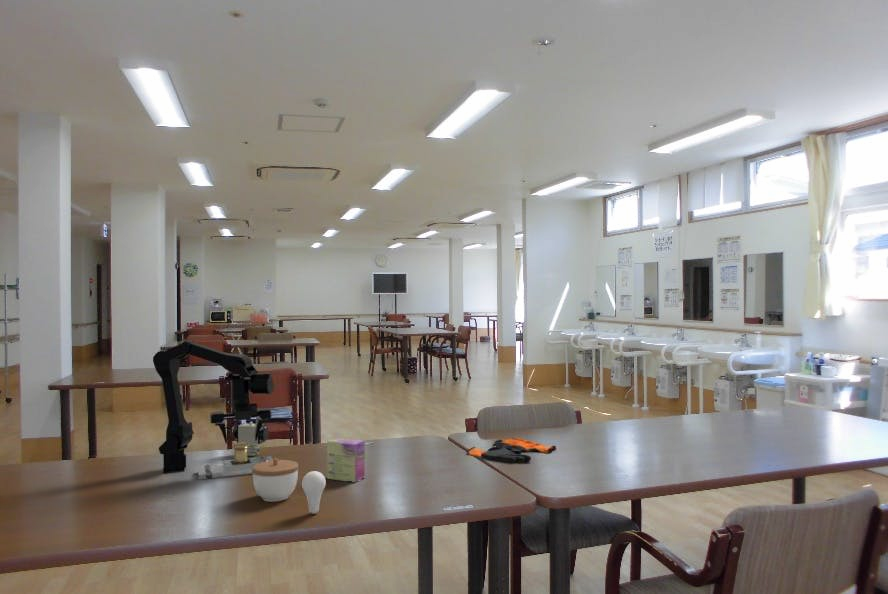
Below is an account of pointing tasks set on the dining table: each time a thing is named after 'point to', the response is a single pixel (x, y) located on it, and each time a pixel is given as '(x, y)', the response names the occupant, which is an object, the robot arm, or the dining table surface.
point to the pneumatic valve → (251, 436)
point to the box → (345, 459)
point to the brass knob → (240, 452)
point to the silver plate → (230, 468)
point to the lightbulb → (313, 489)
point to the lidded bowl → (275, 479)
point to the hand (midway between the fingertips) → (241, 441)
